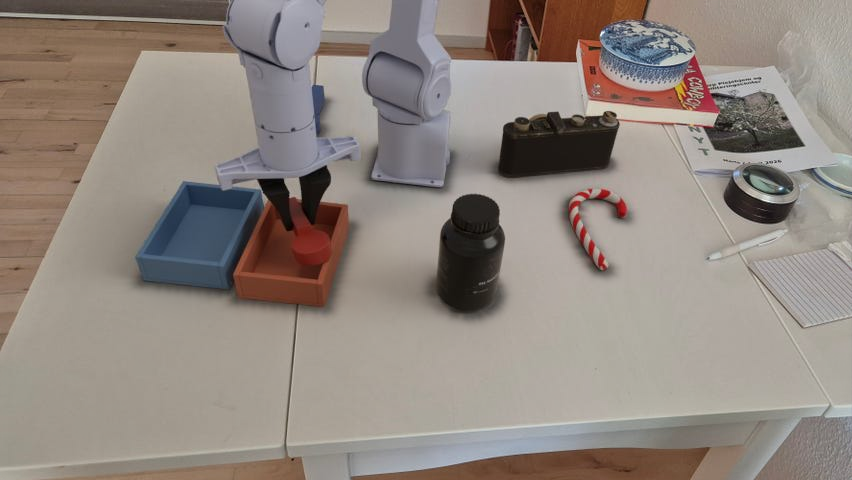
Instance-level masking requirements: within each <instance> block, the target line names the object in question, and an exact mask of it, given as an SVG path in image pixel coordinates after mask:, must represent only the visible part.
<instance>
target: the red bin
mask: <svg viewBox="0 0 852 480" xmlns="http://www.w3.org/2000/svg"><path fill="white" fill-rule="evenodd" d="M296 199H297V201H298V203H299V205H300V206H301V208H302V201H301V198H296ZM311 227H312V230H318V231H323V232H325V233H326V234H327V235H328V236H329V239H330V243H331V247H332V255H331V257H330V258H329V259H328V260H327V261H325V262H324V263H322V264H319V265H315V266H304V265H301V264H299V263H298V262H297V261H296V259H295V256H294V253H293V250H292V246H291V245H292V241H293V240H294V238H295V237H296V235H295V233H294V231H293V230H292V231H286V229H285V227H284V225H283V223H282V220H281V217H280V214H279V212H278V210H277V209H276V207H275V206H274V205H273V204H272V203H271V202H270V201H269V200H268V199H267V201H266V204H265V205H264V210H263V212H262V214H261V216H260V218H259V220H258V222H257V225H256V227H255V229H254V231H253V233H252V235H251V237H250V240H249V242H248V244H247V246H246V248H245V250H244V252H243V255H242V257H241V259H240V261H239V263H238V265H237V267H236V270H235V272H234V274H233V276H234V280H233V282H234V285H235V288H236V289H235V290H236V293H237V297H238V298H239V299H249V300H256V301H257V300H258V301H266V302H267V301H268V302H277V303H286V304H293V305H294V304H296V305H304V306H314V307H321V308H324V307H325V306H326V304H327V300H328V297H329V294H330V290H331V287H332V283H333V282H334V278H335V274H336V271H337V268H338V266H339V262H340V258H341V255H342V253H343V252H342V251H343V249H344V246H345V243H346V239H347V236H348V233H349V230H350V215H349V204H346V203H337V202H328V201H320V204H319V207H318V210H317V214H316V220H315V225H311Z"/></svg>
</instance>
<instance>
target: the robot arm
mask: <svg viewBox="0 0 852 480" xmlns="http://www.w3.org/2000/svg"><path fill="white" fill-rule="evenodd" d="M326 2H327V0H230V1H229V4H228V7H227V10H226V15H225V16H226V17H225V24H224V25H222V31H223V34H224V38H225V39H226V41H227V42H228V44H229V45H230V46H231V47H232V48H233V49H235V50H236V52H237V53H238V58H239V62H240V64H239V65H241V66H242V67H243V68H244V69H245V74H246V75H245V76H246V80H247V87H248V92H249V98H250V104H251V109H252V110H251V111H252V116H253V121H254V127H255V132H256V139H257V145H258V147H257V148H254V149H251V150H250V151H248V152H245V153H243V154H240V155H238V156H236V157H234V158H232V159H228V160H226V161H223V162H220V163H215V164H214V165H213V166H214V170H215V174H216V175H215V176H216V179H217V182H218V185H220V187H221V189H222V191H224V190H228V189H232V188H233V187H234V186H233V185H236V184H242V183H246V182H250V181H254V180H256V181H257V183H258V185H259V187H260V190H261V192H262V194H264V196H265V197H266V199H267V201H268V200H269V201H270V202H271V203H272V204H273V205H274V206H275V207H276V209H277V210H278V212H279V214H280V217H281V220H282V223H283V225H284V227H285V229H286V231H292V230H293V223H292V218H291V214H290V206H289V198H290V190H289V188H288V186H287V185H286V182H285V179H295V178H298V183H299V187H300V196H301V197H300V199H301V201H302V210H303V212H304V213H305V215H306V217H307V219H308V220H309V222H310V224H311V225H315V220H316V214H317V210H318V207H319V204H320V202H322V200H323V199H322V198H323V197H324V195H325V192H326V191H327V190H328V188H329V187H330V185H332V184H331V183H332V174H331V172H330V170H329V169H328V165H329V164H331V163H336V162H339V161H345V160H349V161H350V162H357V161H360V160H361V144H360V143H359V142H358V140H357V139H356V137H355V135H349V136H338V137H317V135H316V128H315V117H314V107H313V96H312V86H313V85H312V78H311V77H312V76H311V67H310V65H311V64H310V61H311V60H312V58H313V57H314V55H315V54H316V53H317V51H318V50H319V48H320V44H321V42H322V41H321V40H322V34H323V33H322V32H323V31H322V30H323V29H322V28H323V22H324V19H325V18H326V15H325V14H326V9H325V8H324V5H325V3H326ZM439 2H440V0H391V7H390V8H391V9H390V16H389V24H388V25H389V26H388V29H387V30H384V31H382V32H381V33H379V34H377V35H375V37H373V38H372V39H371V40H370V43H369V44H370V45H369V52H368V55H367V58H366V60H365V62H364V64H363V68H362V73H361V83H362V88H363V91H364V92H365V93H366V95H367V96H369V97H372V98H371V99H372V106H373V107H375V108H376V109H377V150H378V151H377V155H376V159H375V162H374V166H373V168H372V173H371V180H372V181H380V182H388V183H389V182H390V183H396V184H405V185H407V184H408V185H415V186H416V185H417V186H424V187H434V188H442V187H444V183H445V179H446V172H447V165H449V164H450V160H451V159H450V157H451V150H449V148H450V136H451V135H450V134H451V119H452V115H451V114H452V112H451V111H450V110H447V109H446V107H447V105H448V102H449V100H450V98H451V97H450V96H451V91H452V80H451V63H452V57H451V55H450V54H449V53H448V52H447V50H446V49H445V48H444V46H443V45H442V43H441V42H440V41H439V39H438V38H437V37H436V35H435V29H436V22H437V15H438V10H439V9H438V8H439Z"/></svg>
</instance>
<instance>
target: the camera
mask: <svg viewBox="0 0 852 480" xmlns="http://www.w3.org/2000/svg"><path fill="white" fill-rule="evenodd" d="M617 117H618V115H617V113H616V112H614V111H612V110H605V111H603V113H602V115H588V116H584V115H581V114H577V113H576V114H572V115H571V117H561V114H560V112H559V111H547V113H538V114H535V115H533V116H531V117H530V118H528V117H524V116H518V117H516V118H514V121H508V122H507V123H505V124H504V125H503V127H502V137H501V143H500V150H499V159H498V165H497V172H498V174H500V175H501V176H503V177H505V178H507V179H508V178H510V179H511V178H512V179H513V178H523V177H530V176H531V177H532V176H543V175H553V174H554V175H555V174H564V173H565V174H566V173H576V172H584V171H596V170H604V169H607V168H608V167H609V166H610V161H611V157H612V154H613V149H614V146H615V142H616V139H617V135H618V132H619V129H620V125H621V123H620V120H618V118H617Z"/></svg>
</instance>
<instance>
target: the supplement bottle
mask: <svg viewBox="0 0 852 480" xmlns="http://www.w3.org/2000/svg"><path fill="white" fill-rule="evenodd" d="M500 211H501V210H500V206H499V205H498V202H496V200H494V199H493V198H491V197H489V196H487V195H485V194H481V193H467V194H463V195H461V196H458V198H456V199H455V200H454V201H453V204H452V208H451V213H450V217H449V218H448V219H447V220H446V221H445V222H444V224H442V227H441V229H440V233H439V242H438V243H439V244H438V255H437V256H438V258H437V268H436V281H435V289H436V292H437V296H438V297H439V299H440V300H441V301H442V302H443V303H444V304H445V305H447V306H448V307H450V308H452V309H454V310H457V311H462V312H475V311H479V310H481V309H484V308H486V307H488V306H489V305H490V304H491V303H492V302H493V301H494V299H495V298H496V295H497V290H498V286H499V280H500V273H501V268H502V262H503V257H504V250H505V244H506V235H505V232H504V229H503V227H502V226H501V225H500V215H501V213H500Z"/></svg>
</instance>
